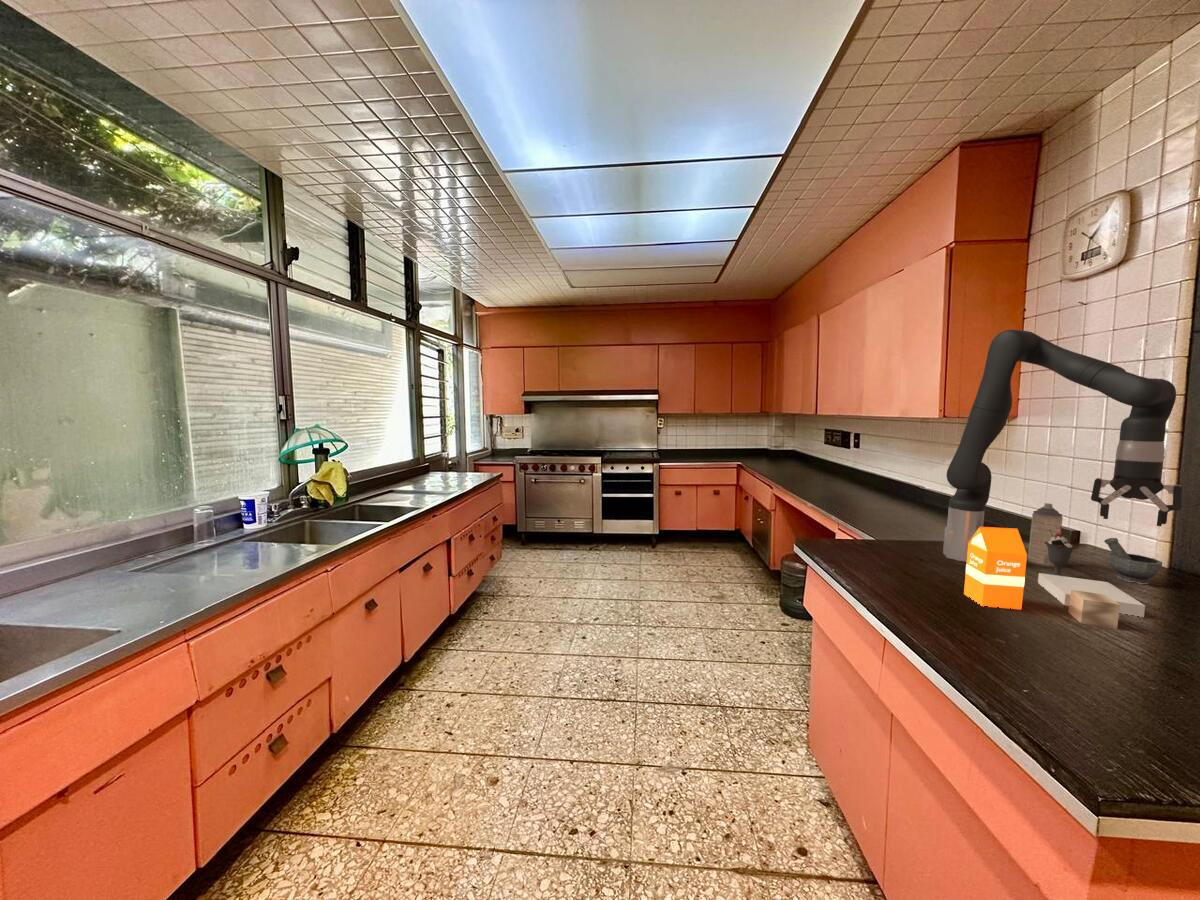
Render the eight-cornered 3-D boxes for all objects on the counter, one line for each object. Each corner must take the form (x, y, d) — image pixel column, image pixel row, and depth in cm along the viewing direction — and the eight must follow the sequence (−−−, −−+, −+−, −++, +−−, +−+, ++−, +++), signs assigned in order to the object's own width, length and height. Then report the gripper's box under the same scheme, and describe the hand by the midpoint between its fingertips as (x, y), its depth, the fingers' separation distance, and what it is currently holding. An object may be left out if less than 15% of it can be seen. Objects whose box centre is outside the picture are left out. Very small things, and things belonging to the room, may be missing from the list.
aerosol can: (1063, 566, 138) (1069, 505, 136) (1047, 568, 137) (1053, 506, 135) (1037, 559, 145) (1043, 501, 143) (1022, 560, 144) (1028, 502, 142)
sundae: (1057, 572, 133) (1063, 525, 132) (1079, 581, 126) (1085, 532, 125) (1034, 572, 134) (1039, 525, 132) (1055, 580, 127) (1060, 531, 126)
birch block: (1080, 623, 102) (1083, 599, 102) (1068, 612, 107) (1070, 589, 107) (1117, 629, 99) (1120, 604, 99) (1102, 618, 105) (1105, 594, 104)
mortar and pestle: (1154, 580, 127) (1160, 541, 126) (1163, 590, 121) (1169, 548, 119) (1097, 570, 135) (1102, 533, 134) (1102, 579, 128) (1107, 540, 127)
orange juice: (1022, 609, 109) (1030, 533, 107) (982, 606, 111) (989, 530, 109) (1000, 596, 117) (1007, 524, 115) (963, 593, 118) (969, 522, 116)
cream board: (1064, 605, 111) (1065, 593, 111) (1037, 582, 125) (1038, 572, 125) (1143, 617, 105) (1145, 605, 105) (1106, 592, 119) (1107, 582, 119)
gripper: (1094, 457, 111) (1087, 518, 112) (1187, 462, 100) (1179, 530, 101) (1097, 455, 115) (1090, 514, 117) (1186, 460, 104) (1178, 525, 106)
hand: (1131, 522), depth 109 cm, fingers open, 8 cm apart
